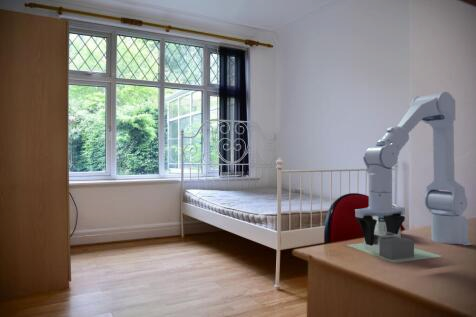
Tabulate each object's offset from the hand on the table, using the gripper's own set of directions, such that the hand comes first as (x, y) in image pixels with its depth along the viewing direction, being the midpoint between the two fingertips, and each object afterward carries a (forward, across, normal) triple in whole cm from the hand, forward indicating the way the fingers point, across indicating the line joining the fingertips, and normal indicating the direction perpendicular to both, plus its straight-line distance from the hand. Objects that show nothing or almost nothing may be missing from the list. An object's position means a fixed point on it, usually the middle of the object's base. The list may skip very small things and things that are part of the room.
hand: (380, 243), depth 92 cm
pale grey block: (+2, 0, 0) cm, 2 cm away
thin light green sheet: (+3, -3, 0) cm, 4 cm away
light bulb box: (+3, -16, -16) cm, 23 cm away
